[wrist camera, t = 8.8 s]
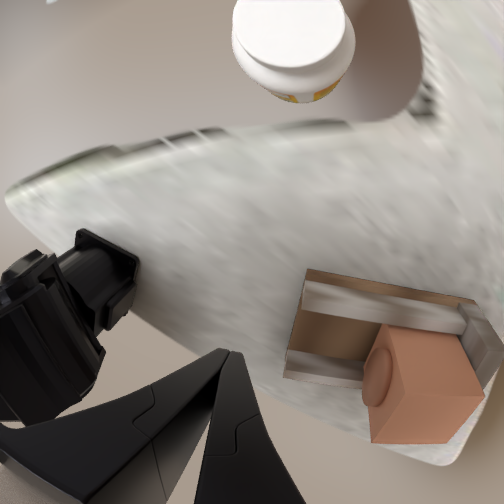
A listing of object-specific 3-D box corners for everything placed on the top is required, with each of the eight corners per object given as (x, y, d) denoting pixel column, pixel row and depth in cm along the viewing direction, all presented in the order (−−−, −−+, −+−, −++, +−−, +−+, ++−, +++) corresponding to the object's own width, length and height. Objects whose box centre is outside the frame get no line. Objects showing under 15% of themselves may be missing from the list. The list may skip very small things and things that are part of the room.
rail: (285, 355, 26) (275, 416, 20) (307, 268, 23) (303, 324, 17) (433, 375, 25) (451, 430, 18) (473, 300, 21) (507, 351, 15)
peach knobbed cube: (356, 365, 23) (362, 442, 16) (377, 315, 21) (395, 392, 14) (426, 373, 22) (446, 443, 16) (452, 326, 20) (485, 396, 14)
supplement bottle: (334, 23, 16) (349, -46, 7) (347, 100, 18) (379, 81, 9) (251, 33, 17) (204, -27, 8) (263, 108, 19) (223, 97, 10)
